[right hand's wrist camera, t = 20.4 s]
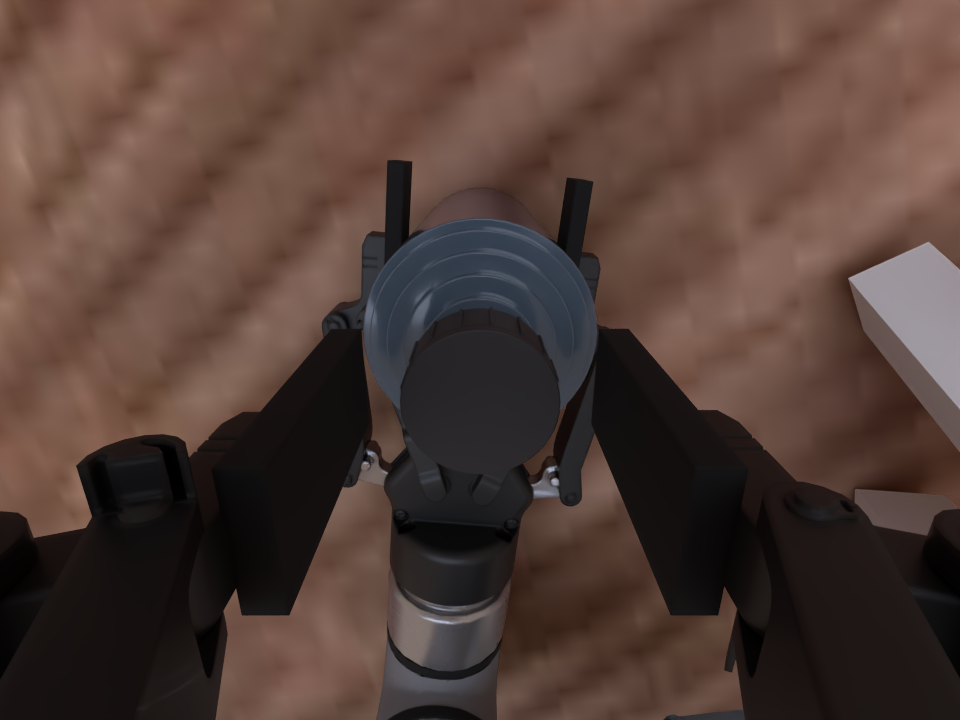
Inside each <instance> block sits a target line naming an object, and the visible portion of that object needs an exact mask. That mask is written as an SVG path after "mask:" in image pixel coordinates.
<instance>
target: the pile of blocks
mask: <svg viewBox="0 0 960 720" xmlns="http://www.w3.org/2000/svg"><path fill="white" fill-rule="evenodd" d="M848 280H849V283H850V287H851V290H852V293H853V297H854V300H855V304H856V307H857V310H858V314H859V317H860V321H861V324H862V327H863V331H864V332H865V333H866V335H867V336H868V337H869V338H870V340H871V341H872V342H873V343H874V345H875V346H876V347H877V348H878V350H879V351H880V352H881V354H882V355H883V356H884V357H885V359H886V360H887V361H888V362H889V364H890V365H891V366H892V367H893V369H894V370H895V371H896V372H897V374H898V375H899V376H900V377H901V379H902V380H903V381H904V383H905V384H906V385H907V386H908V388H909V389H910V390H911V391H912V393H913V394H914V395H915V396H916V398H917V399H918V400H919V401H920V403H921V404H922V405H923V406H924V408H925V409H926V410H927V412H928V413H929V414H930V415H931V417H932V418H933V419H934V420H935V422H936V423H937V424H938V425H939V427H940V428H941V429H942V430H943V432H944V433H945V434H946V436H947V437H948V438H949V439H950V441H951V442H952V443H953V444H954V446H955V447H956V448H957V449H958V451H959V452H960V269H959V268H958V267H956V266H955V265H954V264H953V263H952V262H951V261H950V260H949V259H947V258H946V257H945V256H944V255H943V254H942V253H941V252H940V251H938V250H937V249H936V248H935V247H934V246H933V245H932V244H931V243H930V242H927V243H925V244H923V245H920V246H918V247H916V248H914V249H912V250H909V251H907V252H905V253H903V254H900V255H898V256H896V257H894V258H892V259H889V260H887V261H885V262H883V263H881V264H878V265H876V266H874V267H872V268H869V269H867V270H865V271H863V272H861V273H858V274H856V275H854V276H852V277H850V278H848ZM854 503H856V504H857V505H858V506H859V507H860V508H861V509H862V510H863V511H864V512H865V514H866V515H867V516H868V517H869V519H870V521H871V523H872V524H873V525H875V526H879V527H884V528H889V529H895V530H900V531H905V532H911V533H916V534H921V535H926V536H927V535H928V532H929V529H930V527H931V524H932V521H933V518H934V516H935V515H937V514H938V513H940V512H941V511H943V510H951V509H960V508H959V507H958V506H956V505H955V504H954V503H953V502H952V501H951V500H949V499H948V498H947V497H946V496H945V495H934V494H920V493H906V492H892V491H878V490H865V489H855V500H854Z"/></svg>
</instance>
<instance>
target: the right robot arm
mask: <svg viewBox="0 0 960 720" xmlns="http://www.w3.org/2000/svg"><path fill="white" fill-rule="evenodd" d="M368 424H369V418H368V406H367V394H366V382H365V370H364V358H363V346H362V334H361V329H331V330H330V331H329V332H328V334H327V335H326V336H325V337H324V338H323V339H322V341H321V342H320V343H319V344H318V345H317V346H316V348H315V349H314V350H313V351H312V352H311V353H310V355H309V356H308V357H307V358H306V359H305V360H304V362H303V363H302V364H301V365H300V366H299V367H298V369H297V370H296V371H295V372H294V373H293V374H292V376H291V377H290V378H289V379H288V380H287V381H286V383H285V384H284V385H283V386H282V387H281V388H280V390H279V391H278V392H277V393H276V394H275V395H274V397H273V398H272V399H271V400H270V401H269V402H268V403H267V405H266V406H265V407H264V408H263V409H262V410H261V412H242V413H240V414H239V415H237V416H235V417H233V418H231V419H230V420H228V421H226V422H224V423H222V424H221V425H220V426H219V427H218V428H217V429H216V430H215V431H214V432H213V433H212V434H211V436H210V437H209V440H206V441H205V442H204V443H203V444H202V445H201V446H200V447H199V448H198V449H197V450H198V451H197V452H194V453H193V454H192V455H191V456H190V457H188V452H187V448H186V444H185V442H184V441H183V440H181V439H180V438H178V437H176V436H170V435H164V434H160V435H144V436H139V437H134V438H129V439H124V440H121V441H119V442H116V443H113V444H110V445H107V446H104V447H102V448H101V449H99V450H97V451H95V452H93V453H91V454H89V455H88V456H86V457H85V458H84V459H83V460H82V461H81V462H80V463H79V464H78V465H76V467H77V470H78V473H79V476H80V479H81V483H82V486H83V489H84V492H85V495H86V499H87V502H88V505H89V508H90V511H91V514H92V518H91V520H90V522H89V524H88V525H87V527H86V528H84V529H79V530H74V531H68V532H63V533H58V534H53V535H47V536H42V537H37V538H34V537H33V535H32V532H31V529H30V527H29V524H28V521H27V519H26V518H25V517H23V516H22V515H20V514H19V513H14V512H3V511H1V512H0V720H215V718H216V711H217V705H218V698H219V691H220V684H221V677H222V670H223V663H224V656H225V649H226V642H227V635H228V634H227V626H226V621H225V616H224V612H223V610H224V609H225V607H226V605H227V603H228V601H229V600H230V598H231V596H232V594H233V593H234V591H235V589H236V590H237V594H238V599H239V604H240V609H241V613H242V615H290V612H291V610H292V607H293V605H294V602H295V600H296V598H297V595H298V593H299V590H300V588H301V586H302V583H303V581H304V578H305V576H306V574H307V571H308V569H309V566H310V564H311V562H312V559H313V557H314V554H315V552H316V550H317V547H318V545H319V542H320V540H321V538H322V535H323V533H324V530H325V528H326V525H327V523H328V521H329V518H330V516H331V513H332V511H333V509H334V506H335V504H336V501H337V499H338V497H339V494H340V492H341V489H342V487H343V485H344V482H345V480H346V477H347V475H348V473H349V470H350V468H351V465H352V463H353V461H354V458H355V456H356V453H357V451H358V448H359V446H360V444H361V441H362V439H363V436H364V434H365V432H366V429H367V427H368ZM591 424H592V427H593V429H594V432H595V434H596V436H597V439H598V441H599V444H600V446H601V448H602V451H603V453H604V456H605V458H606V461H607V463H608V465H609V468H610V470H611V473H612V475H613V477H614V480H615V482H616V485H617V487H618V489H619V492H620V494H621V497H622V499H623V501H624V504H625V506H626V509H627V511H628V513H629V516H630V518H631V521H632V523H633V525H634V528H635V530H636V533H637V535H638V538H639V540H640V542H641V545H642V547H643V550H644V552H645V554H646V557H647V559H648V562H649V564H650V566H651V569H652V571H653V574H654V576H655V578H656V581H657V583H658V586H659V588H660V590H661V593H662V595H663V598H664V600H665V602H666V605H667V607H668V610H669V612H670V615H718V613H719V609H720V604H721V599H722V594H723V590H724V586H725V588H726V590H727V592H728V593H729V595H730V597H731V599H732V600H733V602H734V604H735V606H736V607H737V612H736V616H735V621H734V625H733V630H732V634H731V638H730V643H729V647H728V652H727V656H726V662H725V669H724V670H725V671H729V672H732V670H733V666H734V662H735V660H736V661H737V668H738V675H739V682H740V689H741V696H742V703H743V710H744V717H745V720H960V509H951V510H943V511H941V512H940V513H938V514H937V515H935V516H934V518H933V521H932V524H931V527H930V529H929V532H928V535H927V536H926V535H921V534H916V533H911V532H905V531H900V530H895V529H889V528H884V527H879V526H875V525H873V524H872V523H871V521H870V519H869V517H868V516H867V515H866V514H865V512H864V511H863V510H862V509H861V508H860V507H859V506H858V505H857V504H856V503H854V502H853V501H851V500H849V499H848V498H846V497H845V496H843V495H841V494H839V493H837V492H834V491H832V490H829V489H827V488H825V487H822V486H818V485H814V484H809V483H805V482H797V481H796V480H795V479H794V478H793V477H792V476H791V475H790V474H789V473H788V472H787V471H786V470H785V469H784V468H783V467H782V466H781V465H780V464H779V463H778V462H777V461H776V460H775V459H774V458H773V457H772V456H771V455H770V454H769V453H768V452H767V451H766V450H763V447H762V446H761V444H760V443H759V442H758V441H757V440H756V439H755V438H752V435H751V434H750V433H749V432H748V431H747V430H746V429H745V428H744V427H743V426H742V425H741V424H740V423H739V422H738V421H736V420H734V419H732V418H730V417H729V416H727V415H725V414H723V413H721V412H720V411H718V410H698V409H697V408H696V407H695V406H694V405H693V403H692V402H691V401H690V400H689V399H688V398H687V397H686V395H685V394H684V393H683V392H682V391H681V390H680V388H679V387H678V386H677V385H676V384H675V383H674V381H673V380H672V379H671V378H670V377H669V376H668V374H667V373H666V372H665V371H664V370H663V369H662V367H661V366H660V365H659V364H658V363H657V362H656V360H655V359H654V358H653V357H652V356H651V355H650V353H649V352H648V351H647V350H646V349H645V348H644V346H643V345H642V344H641V343H640V342H639V341H638V339H637V338H636V337H635V336H634V335H633V334H632V332H631V331H630V330H629V329H599V334H598V346H597V358H596V370H595V382H594V394H593V406H592V418H591Z"/></svg>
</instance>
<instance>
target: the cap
mask: <svg viewBox="0 0 960 720" xmlns="http://www.w3.org/2000/svg"><path fill="white" fill-rule="evenodd" d="M409 362H410V363H409V366H407V369H406V372H405V374H404V377H403V380H402V383H401V386H400V390H401V395H400V410H401V415H402V419H403V422H404V425H405V428H406V430H407V432H408V434H409V436H410V437H411V439H412V440H413V442H414V443H415V445H416V446H417V447H418V448H419V449H420V450H421V451H422V452H423V453H424V454H425V455H426V456H428V457H429V458H430V459H432V460H433V461H435V462H436V463H438V464H440V465H442V466H444V467H446V468H449V469H451V470H454V471H458V472H462V473H468V474H493V473H498V472H503V471H506V470H509V469H512V468H514V467H516V466H519V465H521V464H523V463H524V462H526V461H527V460H529V459H530V458H532V457H533V456H534V455H535V454H536V453H538V452H539V451H540V450H541V448H542V447H543V446H544V445H545V444H546V442H547V441H548V440H549V438H550V437H551V435H552V433H553V431H554V429H555V427H556V424H557V421H558V417H559V413H560V402H561V401H560V391H559V386H558V382H559V378H558V375H557V372H556V369H555V367H554V364H553V361H552V359H549V356H548V353H547V351H546V348H545V345H544V343H543V340H542V337H541V335H537V334H536V333H535V332H534V331H533V330H532V329H531V327H530V326H528V325H527V324H526V323H524V322H523V321H522V320H521V317H519V316H518V317H515V316H513V315H510V314H508V313H506V312H502V311H499V310H494V309H493V307H489V309H487V308H474V309H466V310H463V308H462V309H460V311H458V312H455V313H452V314H450V315H448V316H446V317H444V318H442V319H440V320H439V321H436V320H435V321H434V322H433V325H432V326H431V327H430V328H429V329H428V330H427V331H426V332H425V333H424V335H423V336H422V337H421V338H420V340H419V342H418V341H416V342H415V344H414V347H413V350H412V353H411V356H410V359H409Z"/></svg>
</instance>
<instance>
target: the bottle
mask: <svg viewBox="0 0 960 720" xmlns="http://www.w3.org/2000/svg"><path fill="white" fill-rule="evenodd" d="M489 307H493V309H494V310H499V311H502V312H506V313H508V314H510V315H513V316H515V317H518V316H519V317H521V320H522V321H523V322H524V323H526V324H527V325H528V326H530V327H531V329H532V330H533V331H534V332H535V333H536V334H537V335H541V337H542V340H543V343H544V345H545V348H546V351H547V353H548V356H549V359H552V361H553V364H554V367H555V369H556V372H557V375H558V378H559V382H558V386H559V391H560V401H561V402H560V410H561V409H562V408H563V407H564V406H565V405H566V404H567V403H568V402H569V401H570V400H571V398H572V397H573V396H574V395H575V393H576V392H577V390H578V389H579V388H580V386H581V384H582V383H583V381H584V379H585V377H586V375H587V373H588V371H589V368H590V365H591V363H592V360H593V356H594V351H595V347H596V338H597V318H596V312H595V307H594V302H593V299H592V296H591V293H590V290H589V287H588V285H587V283H586V281H585V279H584V277H583V275H582V274H581V272H580V271H579V269H578V268H577V266H576V265H575V263H574V262H573V261H572V260H571V259H570V257H569V256H568V255H567V254H566V253H565V252H564V251H563V250H562V248H561V247H560V246H559V245H558V244H557V243H556V242H555V240H554V239H553V238H552V237H551V236H550V235H549V234H548V233H547V231H546V230H545V229H544V228H543V227H542V226H541V225H540V224H539V222H538V221H537V220H536V219H535V218H534V217H533V216H532V214H531V213H530V212H529V211H528V210H527V209H526V208H525V207H524V206H523V205H522V204H521V203H520V202H519V201H518V200H516V199H515V198H513V197H512V196H510V195H508V194H506V193H504V192H501V191H498V190H495V189H489V188H471V189H466V190H462V191H459V192H457V193H454V194H452V195H450V196H449V197H447V198H445V199H444V200H443V201H441V202H440V203H439V204H438V205H437V206H436V207H435V208H434V209H433V210H432V211H431V212H430V214H429V215H428V216H427V217H426V218H425V219H424V220H423V221H422V223H421V224H420V225H419V226H418V227H417V228H416V229H415V231H414V232H413V233H412V234H411V235H410V236H409V237H408V238H407V240H406V241H405V242H404V243H403V244H402V245H401V246H400V248H399V249H398V250H397V251H396V252H395V253H394V254H393V255H392V257H391V258H390V259H389V260H388V261H387V263H386V264H385V266H384V267H383V268H382V270H381V271H380V273H379V274H378V276H377V278H376V280H375V282H374V284H373V286H372V288H371V291H370V294H369V297H368V300H367V304H366V309H365V314H364V326H363V333H364V345H365V350H366V354H367V359H368V361H369V364H370V367H371V370H372V372H373V374H374V376H375V378H376V380H377V382H378V384H379V385H380V387H381V388H382V390H383V391H384V393H385V394H386V396H387V397H388V398H389V399H390V400H391V401H392V402H393V404H394V405H395V406H396V407H397V408H398V409H400V395H401V390H400V386H401V383H402V380H403V377H404V374H405V372H406V369H407V366H409V363H410V362H409V359H410V356H411V353H412V350H413V347H414V344H415V342H416V341H418V342H419V340H420V338H421V337H422V336H423V335H424V333H425V332H426V331H427V330H428V329H429V328H430V327H431V326H432V325H433V322H434V321H435V320H436V321H439V320H440V319H442V318H444V317H446V316H448V315H450V314H452V313H455V312H458V311H460V309H462V308H463V310H466V309H474V308H487V309H489Z"/></svg>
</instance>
